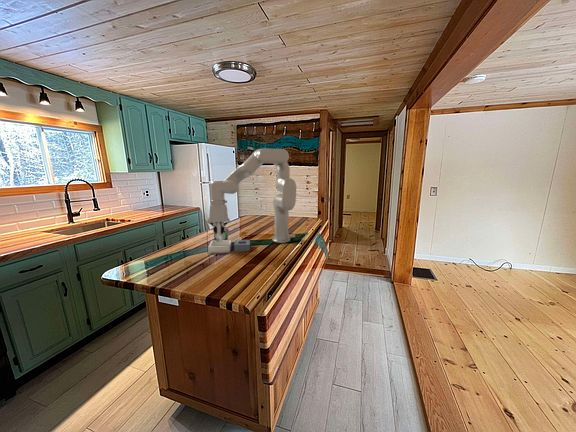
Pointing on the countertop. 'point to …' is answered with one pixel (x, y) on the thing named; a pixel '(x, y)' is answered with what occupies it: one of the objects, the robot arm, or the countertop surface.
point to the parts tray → (219, 247)
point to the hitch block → (242, 245)
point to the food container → (224, 235)
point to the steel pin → (219, 231)
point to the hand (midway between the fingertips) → (219, 232)
